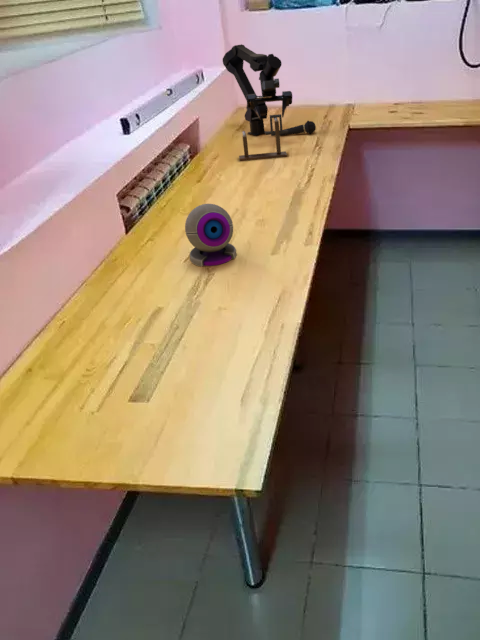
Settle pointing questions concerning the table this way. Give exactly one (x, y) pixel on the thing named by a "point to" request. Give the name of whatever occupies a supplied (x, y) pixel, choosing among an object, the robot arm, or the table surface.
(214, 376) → the table surface
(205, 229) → the webcam
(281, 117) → the black piece
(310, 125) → the microphone
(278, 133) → the rack
